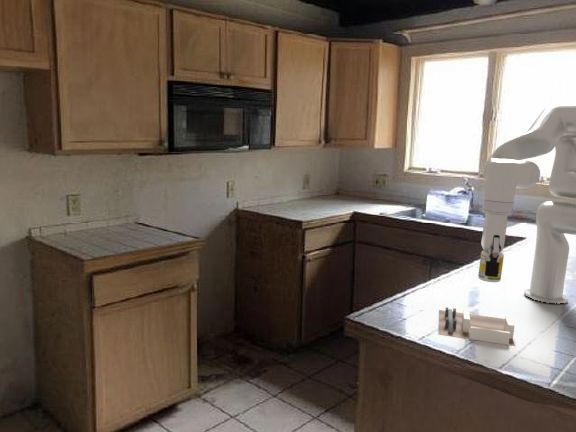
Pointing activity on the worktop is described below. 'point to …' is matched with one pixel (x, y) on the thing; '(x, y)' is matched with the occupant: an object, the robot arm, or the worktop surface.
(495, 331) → the holder
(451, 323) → the cable run
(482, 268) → the supplement bottle
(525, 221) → the worktop surface
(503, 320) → the board
